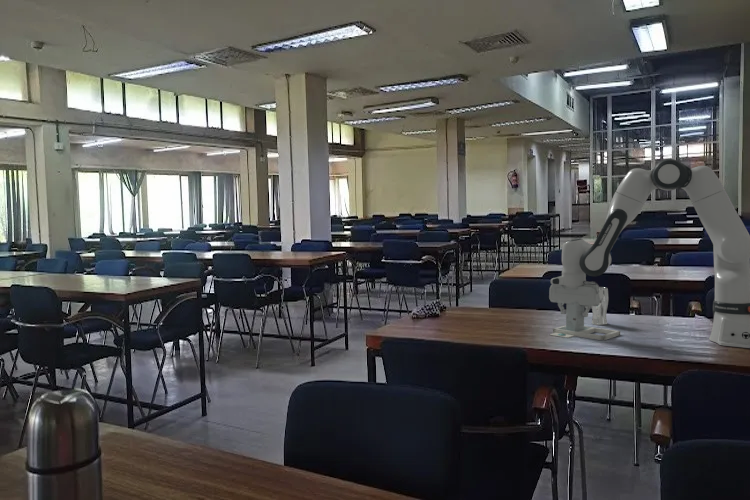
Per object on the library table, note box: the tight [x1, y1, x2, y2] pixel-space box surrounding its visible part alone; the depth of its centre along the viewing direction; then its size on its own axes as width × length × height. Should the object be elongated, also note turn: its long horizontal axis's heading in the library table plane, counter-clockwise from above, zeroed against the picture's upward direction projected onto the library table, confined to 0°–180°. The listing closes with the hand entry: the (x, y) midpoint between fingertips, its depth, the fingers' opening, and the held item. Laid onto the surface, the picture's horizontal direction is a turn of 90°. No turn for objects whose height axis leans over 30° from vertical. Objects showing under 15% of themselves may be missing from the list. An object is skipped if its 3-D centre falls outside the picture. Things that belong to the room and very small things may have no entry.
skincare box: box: [565, 302, 585, 332], centre depth 231 cm, size 6×4×12 cm
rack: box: [549, 324, 621, 341], centre depth 227 cm, size 21×17×2 cm
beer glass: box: [591, 286, 609, 326], centre depth 246 cm, size 7×7×15 cm
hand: (574, 315), depth 232 cm, fingers open, 8 cm apart
